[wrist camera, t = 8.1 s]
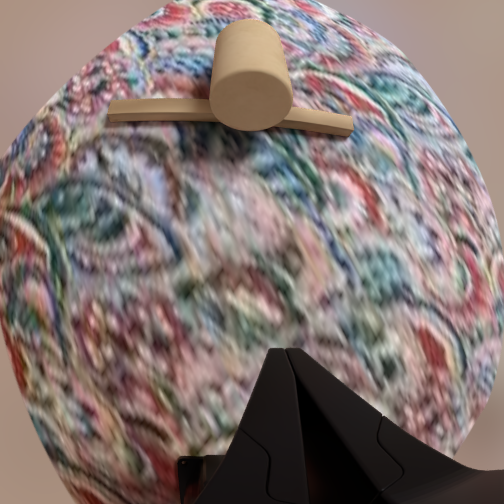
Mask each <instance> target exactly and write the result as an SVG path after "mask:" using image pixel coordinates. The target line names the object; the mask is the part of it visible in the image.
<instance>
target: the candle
mask: <svg viewBox="0 0 504 504" xmlns="http://www.w3.org/2000/svg"><path fill="white" fill-rule="evenodd" d="M209 100H210V106H211V110H212V112H213V114H214V115H215V117H216V118H217V119H218V120H219V121H220V122H222V123H223V124H225V125H227V126H229V127H231V128H234V129H237V130H242V131H258V130H264V129H267V128H270V127H272V126H274V125H276V124H278V123H280V122H281V121H282V120H283V119H284V118H285V117H286V116H287V115H288V113H289V112H290V110H291V107H292V103H293V93H292V87H291V82H290V78H289V73H288V69H287V65H286V61H285V56H284V52H283V48H282V44H281V40H280V37H279V35H278V33H277V32H276V31H275V29H274V28H272V27H271V26H270V25H268V24H267V23H265V22H262V21H259V20H254V19H244V20H239V21H236V22H233V23H231V24H229V25H228V26H226V27H225V28H224V29H223V30H222V31H221V32H220V34H219V35H218V37H217V40H216V46H215V54H214V61H213V69H212V77H211V86H210V97H209Z"/></svg>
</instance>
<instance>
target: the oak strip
mask: <svg viewBox="0 0 504 504" xmlns="http://www.w3.org/2000/svg"><path fill="white" fill-rule="evenodd" d="M107 115H108V117H109V119H110V122H120V121H207V122H220V121H219V120H218V119H217V118H216V117H215V115H214V114H213V112H212V110H211V106H210V100H209V99H177V98H164V99H128V100H112V101H111V102H110V106H109V109H108V113H107ZM274 126H275V127H284V128H292V129H300V130H307V131H314V132H321V133H328V134H334V135H340V136H346V137H349V136H350V134H351V133H352V132H353V131H354V128H353V121H352V117H351V116H346V115H341V114H335V113H330V112H324V111H318V110H312V109H305V108H298V107H291V110H290V112H289V113H288V115H287V116H286V117H285V118H284V119H283V120H282V121H281V122H280V123H278V124H276V125H274Z"/></svg>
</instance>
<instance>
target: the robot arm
mask: <svg viewBox="0 0 504 504" xmlns="http://www.w3.org/2000/svg"><path fill="white" fill-rule="evenodd" d="M182 461H186V462H187V464H183V463H182ZM177 464H178V477H179V489H180V499H181V504H504V470H490V471H484V470H476V469H472V468H469V467H466V466H464V465H462V464H460V463H458V462H456V461H455V460H453V459H451V458H449V457H447V456H446V455H444V454H442V453H440V452H438V451H437V450H435V449H433V448H431V447H430V446H428V445H426V444H425V443H423V442H421V441H420V440H418V439H417V438H415V437H413V436H412V435H410V434H409V433H407V432H406V431H404V430H403V429H402V428H400V427H399V426H397V425H396V424H395V423H393V422H392V421H391V420H389V419H388V418H387V417H386V416H382V414H381V413H380V412H379V411H378V410H376V409H375V408H374V407H372V406H371V405H370V404H369V403H367V402H366V401H365V400H364V399H362V398H361V397H360V396H359V395H357V394H356V393H355V392H354V391H352V390H351V389H350V388H349V387H347V386H346V385H345V384H344V383H342V382H341V381H340V380H339V379H337V378H336V377H335V376H334V375H332V374H331V373H330V372H329V371H328V370H326V369H325V368H324V367H323V366H321V365H320V364H319V363H318V362H317V361H315V360H314V359H313V358H312V357H311V356H309V355H308V354H307V353H306V352H305V351H303V350H302V349H301V348H286V349H283V348H270V349H269V350H268V353H267V355H266V358H265V361H264V363H263V366H262V368H261V371H260V374H259V376H258V379H257V381H256V384H255V387H254V389H253V392H252V394H251V397H250V399H249V402H248V404H247V407H246V409H245V412H244V414H243V417H242V419H241V421H240V424H239V426H238V429H237V431H236V433H235V435H234V438H233V440H232V442H231V444H230V446H229V449H228V451H227V453H226V455H206V456H204V457H197V456H181V457H179V459H178V463H177Z"/></svg>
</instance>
